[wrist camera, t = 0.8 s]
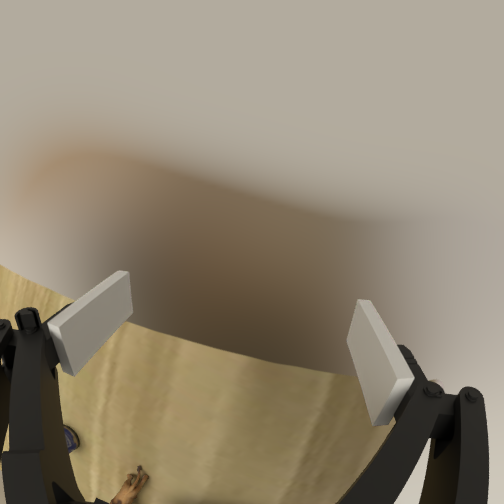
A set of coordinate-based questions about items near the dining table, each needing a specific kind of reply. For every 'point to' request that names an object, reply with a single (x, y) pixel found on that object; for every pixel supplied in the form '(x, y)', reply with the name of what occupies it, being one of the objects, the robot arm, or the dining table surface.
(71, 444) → the pill bottle
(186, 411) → the dining table surface
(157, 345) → the dining table surface
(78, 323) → the robot arm
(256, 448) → the dining table surface
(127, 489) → the lion figurine
